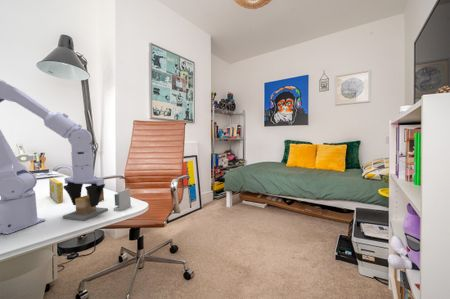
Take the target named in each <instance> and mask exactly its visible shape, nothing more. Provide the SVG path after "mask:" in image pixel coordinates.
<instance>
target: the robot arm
mask: <svg viewBox="0 0 450 299" xmlns="http://www.w3.org/2000/svg"><path fill="white" fill-rule="evenodd" d="M4 101H9V102H13V103H15V104H18V105H19V106H20V107H22V108H24V109H25V110H28V111H29V112H31V113H33V114H34V115H36V116H38V117H39V118H41V119H43V123H44V126H45V127H46V128H47V129H49V130H51V131H53V132H54V133H56V134H57V135H59V136H60V137H62V138H63V139H67V141H68V142H69V144H70V145H71V164H72V165H71V167H72V176H68V177H64V184H66V185H63V190H65V191H66V193H67V194H68V196H69V199H70V200H71V203H72V205H73V206H76V204H75V199H77V198H80V197H82V190H83V189H82V188H83V186H84V185H86V186H85V191H86V193H87V192H88V194H89V198H90V204H91V207H94V206H96V207H98V205H99V198H100V195H101V192H102V190H103V191H104V188H105V187H106V186H105V185H106V184H105V179H104V178H103V177H98V176H97V175H95V172H94V170H95V169H94V157H93V150H92V149H93V147H92V144H91V142H92V141H93V136H92V134H91V132H90V131H89V130H88V129H85V128H82V127H83V125H82V124H80V123H79V124H78V123H76V122H74V121H73V120H71V119H70V118H69V115H68V114H66V113H64V112H63V113H62V112H60V111H51V110H49V109H48V108H47V107H46V106H44V105H43V104H41V103H40V102H39V101H37V100H36V99H34V98H33V97H31V96H30V95H29V94H27V93H26V92H24V91H22V90H21V89H19V88H17V87H16V86H14V85H11V84H10V83H7V82H6V81H4V80H3V79H0V103H2V102H4ZM96 176H97V177H96ZM37 183H38V178H37V177H36V175H35V174H34V173H32V172H31V171H29V170H28V168H27V167H26V166H25V164H22V163H21V162H20V161H19V160H18V158H17V156H16V154H15V152H14V151H13V148H11V145H10V144H9V142H8V141H7V139H6V137H5V135H4V134H3V131H2V130H1V129H0V234H1V233H3V235H10V234H11V233H15V232H18V231H20V230H22V229H23V230H24V229H25V228H29V227H31V226H34V225H36V224H37V225H38V224H39V223H41V222H44V221H46V218H40V217H38V211H37V199H36V198H37V197H36V191H35V190H34V189H35V187H36V185H37Z"/></svg>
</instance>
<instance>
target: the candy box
mask: <svg viewBox="0 0 450 299" xmlns="http://www.w3.org/2000/svg"><path fill="white" fill-rule="evenodd" d="M48 181H49V184H48V185H49V197H50V198H51V199H52V200H53V201H54V202H56V204H62V203H63V202H64V192H63V191H64V188H63V186H64V185H63V182H62V181H60V180H57V179H56V178H48Z"/></svg>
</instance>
